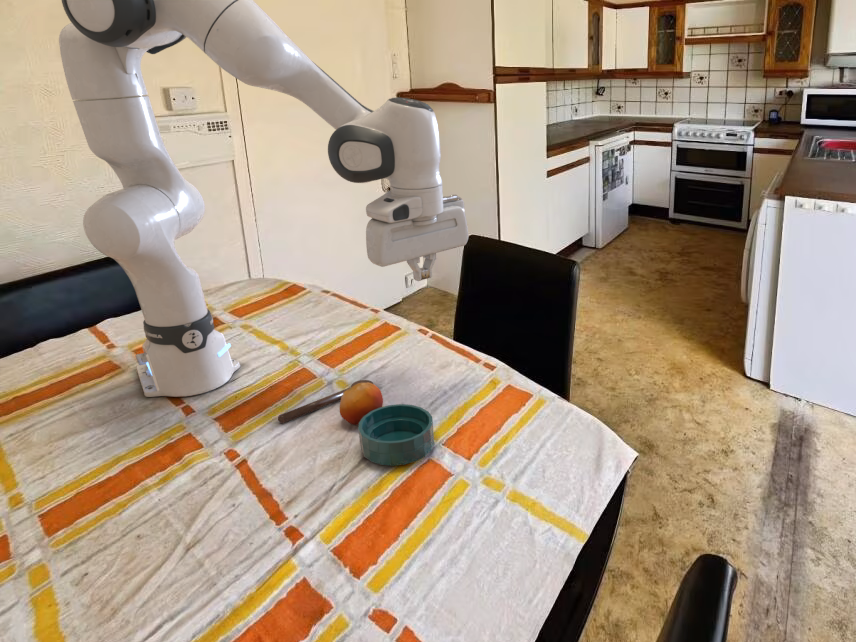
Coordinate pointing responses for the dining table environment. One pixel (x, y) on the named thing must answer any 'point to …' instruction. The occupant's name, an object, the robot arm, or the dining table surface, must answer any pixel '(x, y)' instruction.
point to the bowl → (396, 434)
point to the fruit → (360, 402)
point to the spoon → (315, 405)
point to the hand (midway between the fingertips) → (422, 278)
